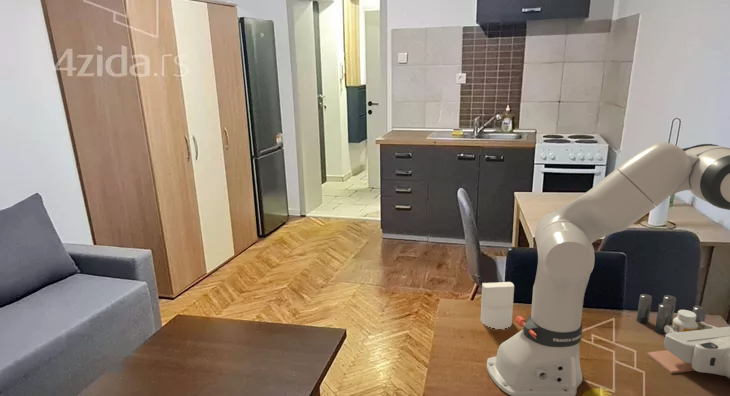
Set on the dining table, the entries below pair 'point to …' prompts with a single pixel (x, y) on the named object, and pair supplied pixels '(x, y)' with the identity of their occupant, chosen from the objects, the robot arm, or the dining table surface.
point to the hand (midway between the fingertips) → (682, 325)
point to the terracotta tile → (670, 361)
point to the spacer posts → (664, 312)
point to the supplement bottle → (685, 321)
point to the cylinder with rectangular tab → (497, 304)
